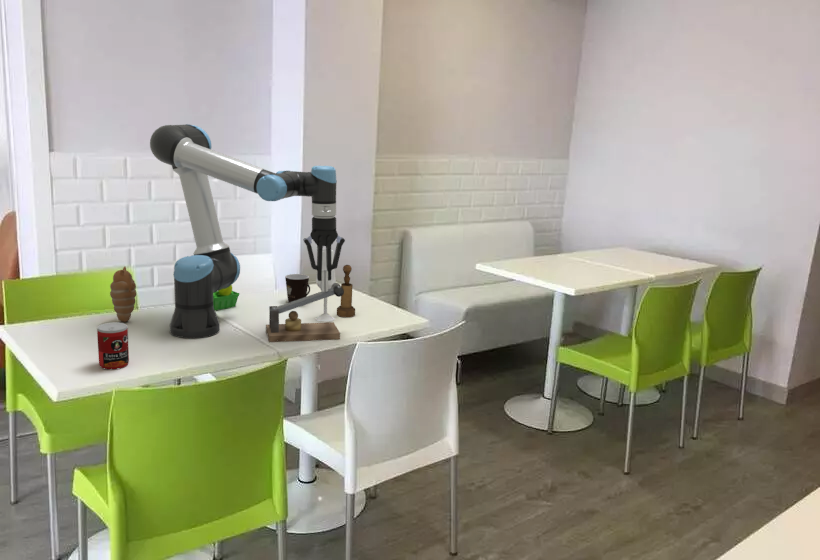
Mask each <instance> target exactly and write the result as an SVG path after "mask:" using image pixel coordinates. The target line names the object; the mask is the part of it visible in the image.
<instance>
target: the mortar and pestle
mask: <svg viewBox="0 0 820 560" xmlns="http://www.w3.org/2000/svg"><path fill="white" fill-rule="evenodd" d="M352 270H353V269H352V266H351V265H349V264H344V265H343V267H342V271H343V273H344V276H343V282H342V283H341V285H340V286H341V287H342V288H343V290H344V294H343V295H342V296H340V305H339V306H337V308H336V316H338V317H341V318H353V317H355V316H356V308H355V307H354V306H353V283H350V281H351V277H350V273H351V272H352Z"/></svg>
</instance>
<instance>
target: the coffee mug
mask: <svg viewBox="0 0 820 560" xmlns="http://www.w3.org/2000/svg"><path fill="white" fill-rule="evenodd" d="M284 279H285V286H286V295H287V303H289V302H292V301H295V300H298V299H301V298H304V297H307V296H309V294H310V292H311V286H310V284H309V281H310V276H309V275H308V274H307V275H306V274H301V273H292V274H291V273H290V274H287V275H285V278H284Z"/></svg>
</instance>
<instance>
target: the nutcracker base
mask: <svg viewBox="0 0 820 560" xmlns="http://www.w3.org/2000/svg"><path fill="white" fill-rule="evenodd" d="M271 307H278V305H270V306H269V307H268V308H269V309H268V310H269V317H268V318H269V322H268V324H266V325H265V332H266V335H267V338H268V342H269V343H281V342H283V343H286V342H302V341H303V342H306V341H307V342H308V341H329V340H330V341H331V340H332V341H333V340H334V341H335V340H336V341H337V340H341V332H340V331H339V329H338V327H337V325H336V324H335V322H334V321H328V322H304V323H303V322H302V319H301V318H299V314H298V312H297V311H295V310H290V312H289V313H288V318H286V319H285V321H284V322H285V323H280V314H279V310H271V313H270V308H271Z"/></svg>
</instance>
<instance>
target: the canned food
mask: <svg viewBox="0 0 820 560" xmlns="http://www.w3.org/2000/svg"><path fill="white" fill-rule="evenodd" d="M128 329H129V328H128V325H127V324H126V323H125V322H118V321H117V322H116V321H115V322H104V323H101V324H99V325H98V326H96V334H97V335H96V337H97V338H96V339H97V349H98V351H97V352H98V365H99V367H100V368H101V367H102V368H101V369H103V368H105V369H104V370H110V369H112V370H118V369H117V368H120V369H123V368H125V367H127V366H128V365H129V362H130V354H129V353H130V352H129V349H130V348H129V330H128Z"/></svg>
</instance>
